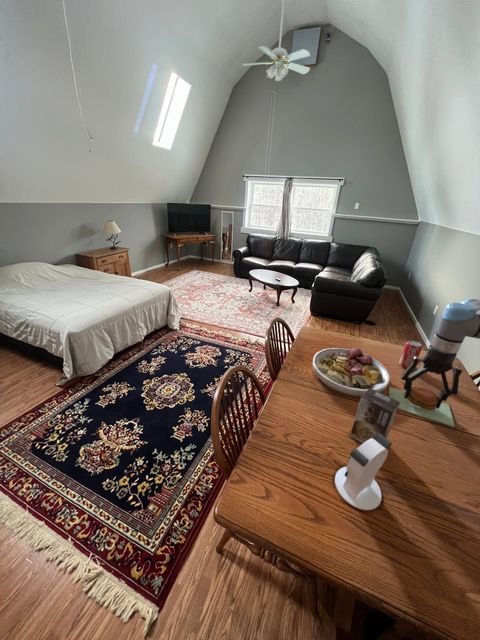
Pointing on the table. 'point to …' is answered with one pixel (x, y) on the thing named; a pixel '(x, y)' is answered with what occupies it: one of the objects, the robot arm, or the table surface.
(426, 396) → the burger
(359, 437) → the coffee box
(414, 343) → the beverage can
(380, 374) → the bowl
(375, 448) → the white oval-base stand
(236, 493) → the table surface
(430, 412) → the mat
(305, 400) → the table surface
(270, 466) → the table surface
